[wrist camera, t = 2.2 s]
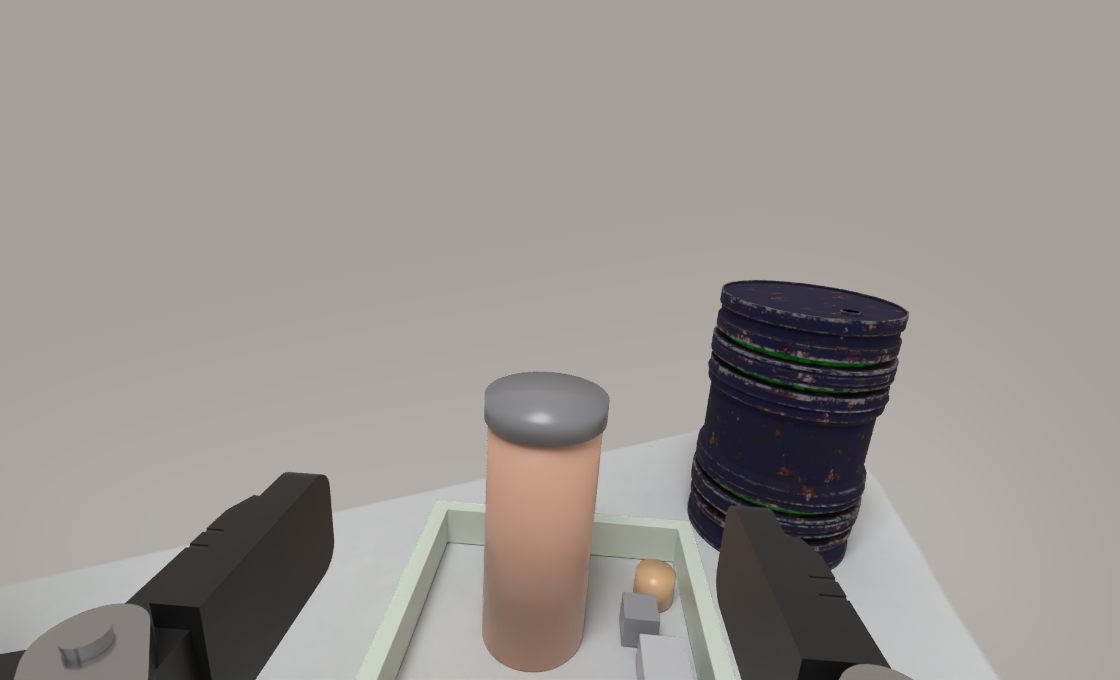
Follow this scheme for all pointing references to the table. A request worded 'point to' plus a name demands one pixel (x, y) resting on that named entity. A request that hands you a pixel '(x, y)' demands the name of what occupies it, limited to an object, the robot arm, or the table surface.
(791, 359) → the dark blue barrel
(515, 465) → the canister
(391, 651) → the parts tub
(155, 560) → the table surface
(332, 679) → the table surface
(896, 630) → the table surface
